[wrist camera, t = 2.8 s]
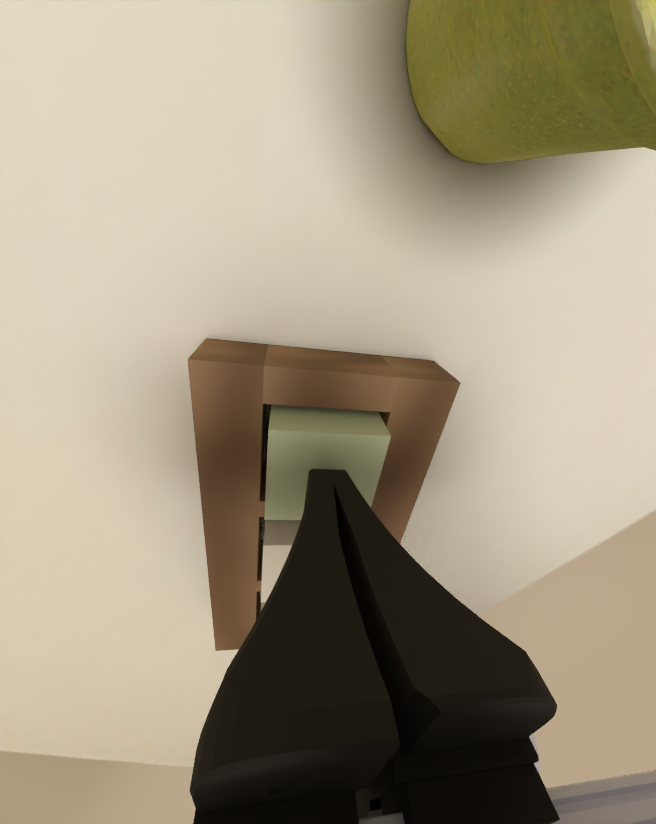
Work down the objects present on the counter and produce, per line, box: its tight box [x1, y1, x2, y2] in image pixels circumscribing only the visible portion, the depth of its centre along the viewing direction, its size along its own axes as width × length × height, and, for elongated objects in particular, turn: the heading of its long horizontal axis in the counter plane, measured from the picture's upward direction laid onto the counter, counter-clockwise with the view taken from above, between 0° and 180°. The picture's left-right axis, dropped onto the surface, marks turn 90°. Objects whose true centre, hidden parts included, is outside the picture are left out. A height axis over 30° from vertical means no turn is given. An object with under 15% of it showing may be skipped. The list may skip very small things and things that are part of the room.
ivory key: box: [261, 520, 301, 602], centre depth 15 cm, size 4×4×2 cm
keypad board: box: [188, 339, 460, 651], centre depth 17 cm, size 10×20×2 cm, turn 172°
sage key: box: [264, 404, 391, 520], centre depth 13 cm, size 4×4×2 cm
